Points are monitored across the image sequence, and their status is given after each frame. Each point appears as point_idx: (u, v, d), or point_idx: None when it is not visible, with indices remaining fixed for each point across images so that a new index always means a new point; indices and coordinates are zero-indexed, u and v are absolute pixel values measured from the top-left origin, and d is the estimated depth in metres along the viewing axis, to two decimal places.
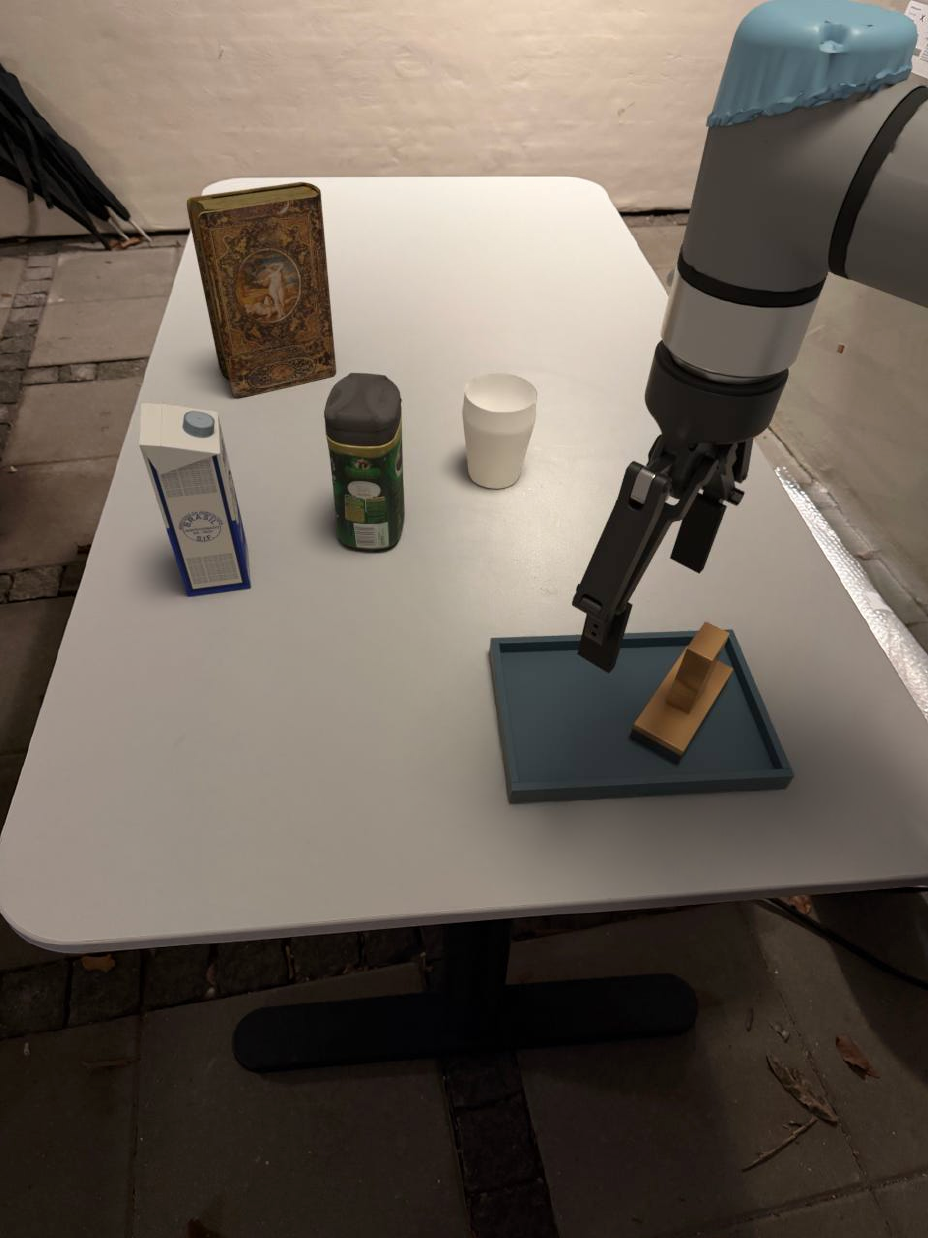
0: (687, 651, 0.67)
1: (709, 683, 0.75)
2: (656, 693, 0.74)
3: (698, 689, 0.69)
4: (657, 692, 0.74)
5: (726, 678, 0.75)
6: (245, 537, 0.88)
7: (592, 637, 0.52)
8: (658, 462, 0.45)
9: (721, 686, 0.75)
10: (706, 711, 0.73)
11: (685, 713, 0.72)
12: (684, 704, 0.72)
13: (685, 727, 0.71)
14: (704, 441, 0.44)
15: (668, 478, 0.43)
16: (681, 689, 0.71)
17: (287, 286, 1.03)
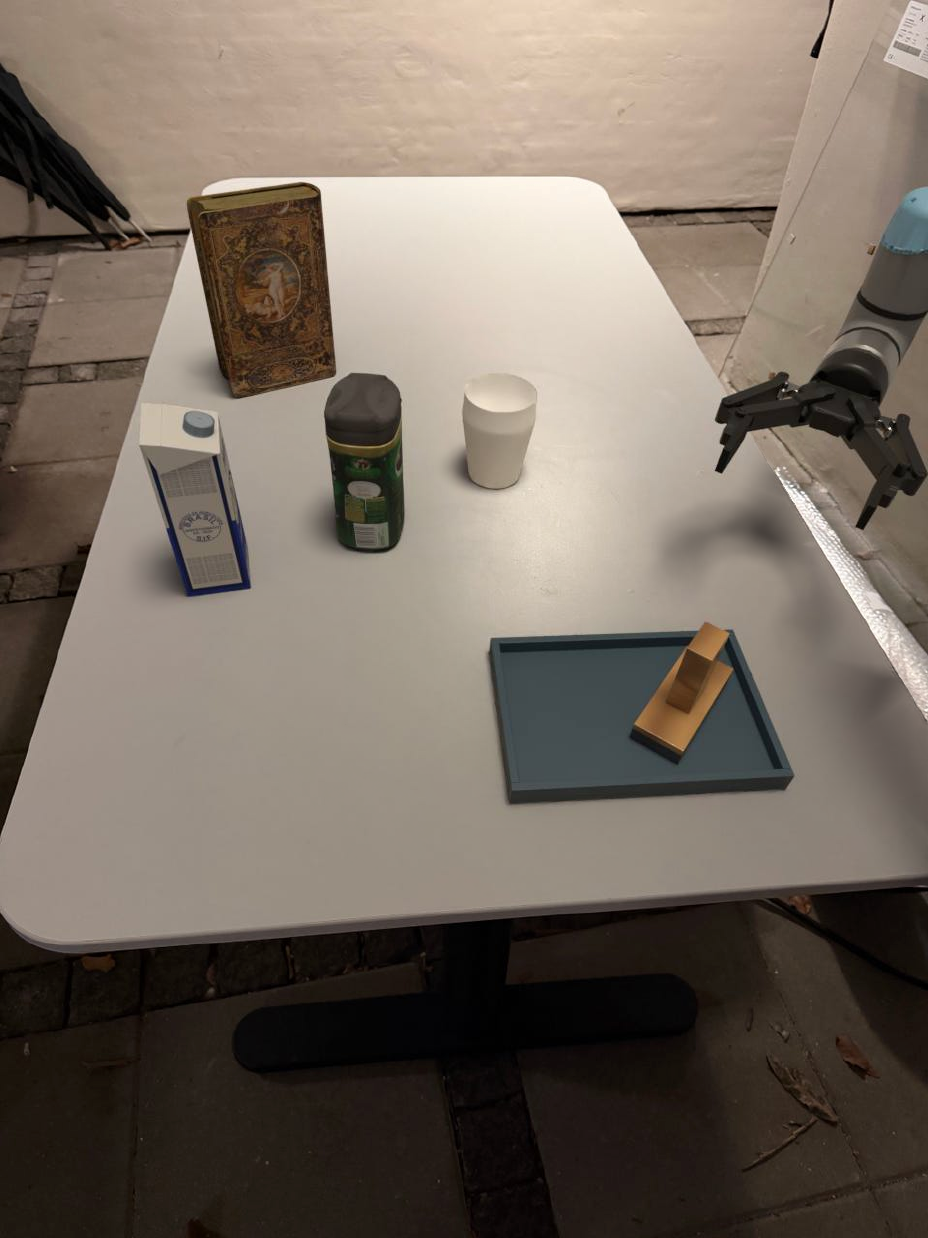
0: (687, 651, 0.67)
1: (709, 683, 0.75)
2: (656, 693, 0.74)
3: (698, 689, 0.69)
4: (657, 692, 0.74)
5: (726, 678, 0.75)
6: (245, 537, 0.88)
7: (721, 435, 0.76)
8: None
9: (721, 686, 0.75)
10: (706, 711, 0.73)
11: (685, 713, 0.72)
12: (684, 704, 0.72)
13: (685, 727, 0.71)
14: (816, 372, 0.81)
15: (786, 373, 0.82)
16: (681, 689, 0.71)
17: (287, 286, 1.03)
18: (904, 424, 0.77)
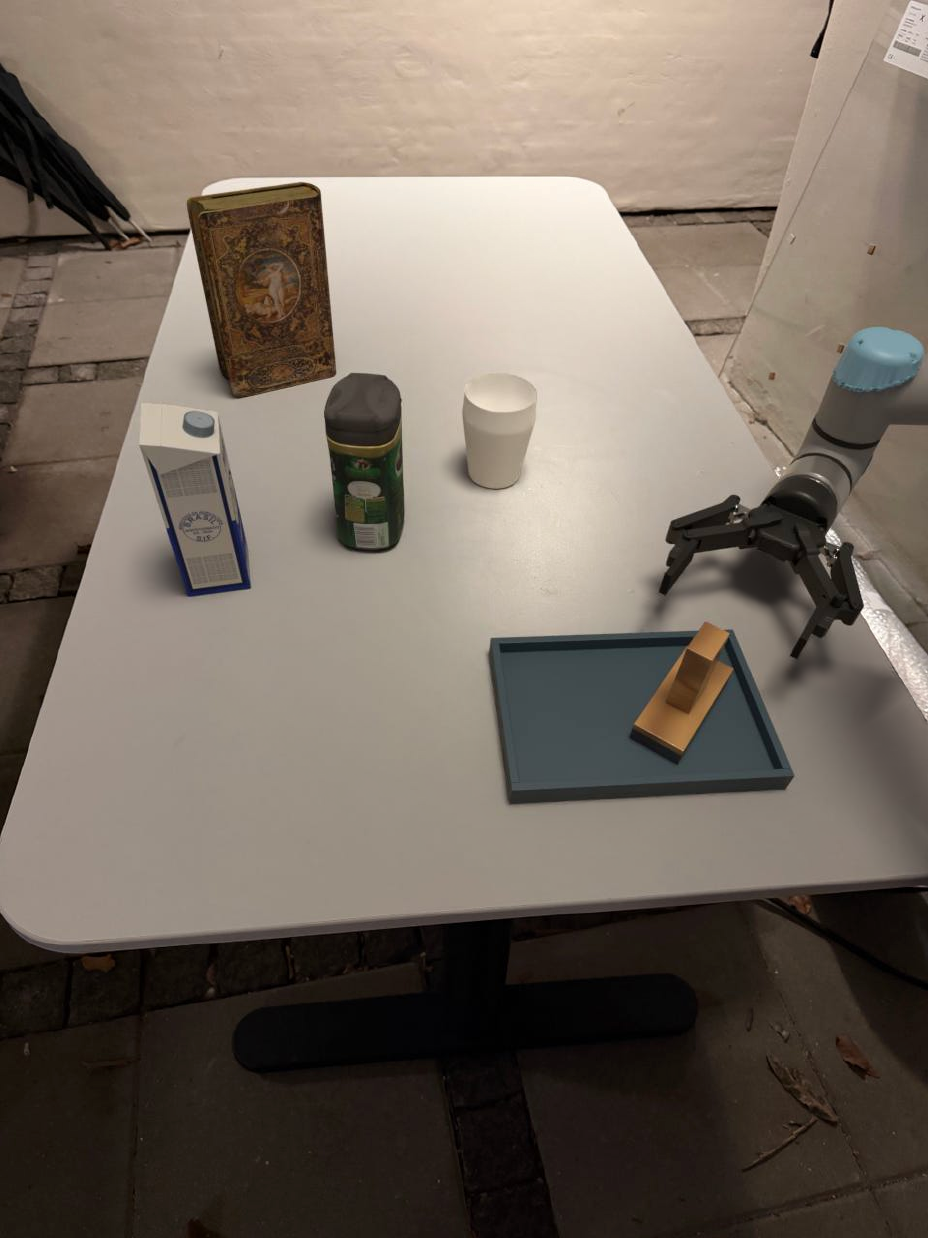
0: (687, 651, 0.67)
1: (709, 683, 0.75)
2: (656, 693, 0.74)
3: (698, 689, 0.69)
4: (657, 692, 0.74)
5: (726, 678, 0.75)
6: (245, 537, 0.88)
7: None
8: None
9: (721, 686, 0.75)
10: (706, 711, 0.73)
11: (685, 713, 0.72)
12: (684, 704, 0.72)
13: (685, 727, 0.71)
14: (767, 497, 0.84)
15: (737, 496, 0.85)
16: (681, 689, 0.71)
17: (287, 286, 1.03)
18: (847, 553, 0.79)
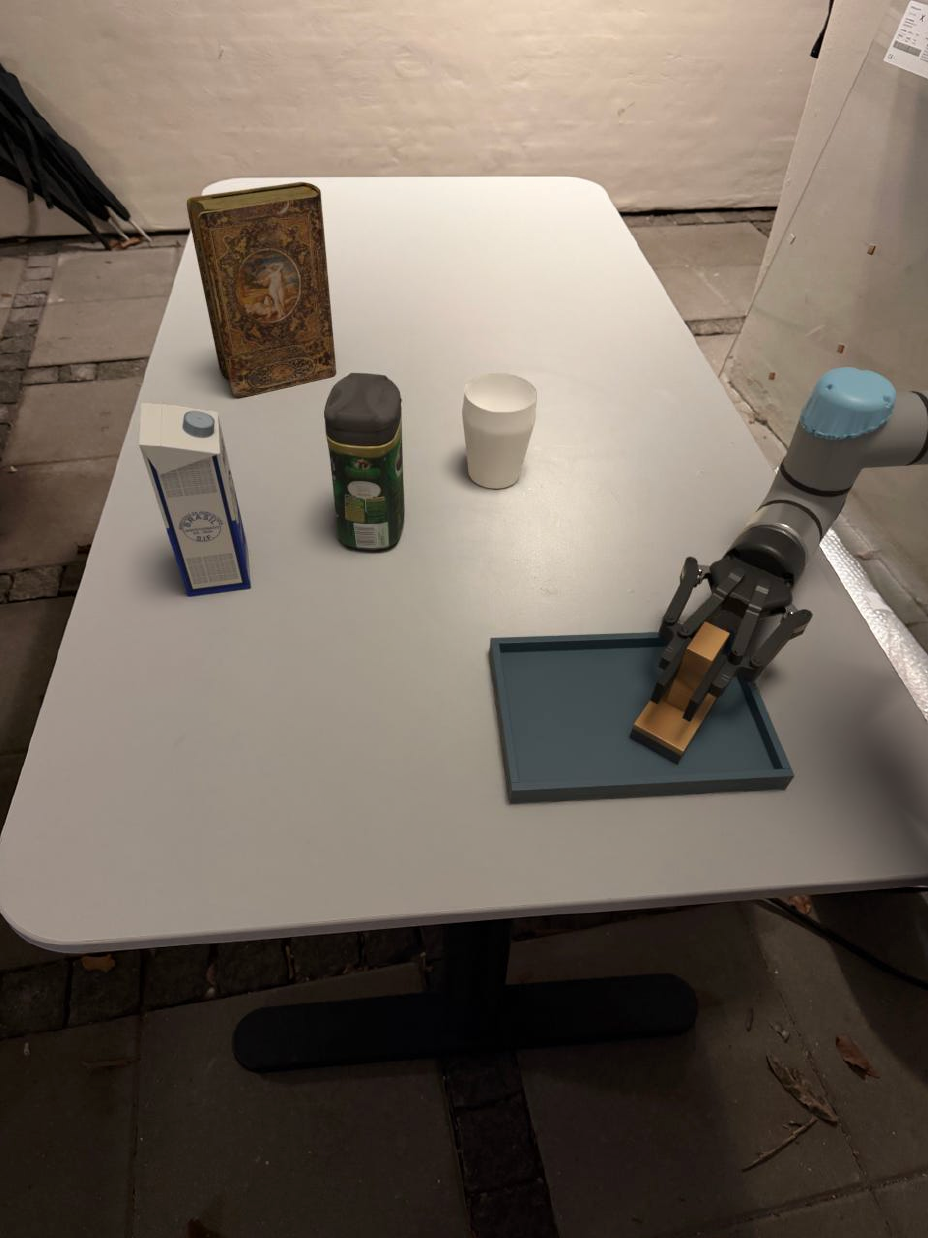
0: (687, 651, 0.67)
1: None
2: None
3: None
4: None
5: None
6: (245, 537, 0.88)
7: (660, 659, 0.70)
8: None
9: None
10: (706, 711, 0.73)
11: None
12: (684, 704, 0.72)
13: (685, 727, 0.71)
14: (730, 549, 0.78)
15: (691, 557, 0.78)
16: (681, 689, 0.71)
17: (287, 286, 1.03)
18: (797, 619, 0.73)
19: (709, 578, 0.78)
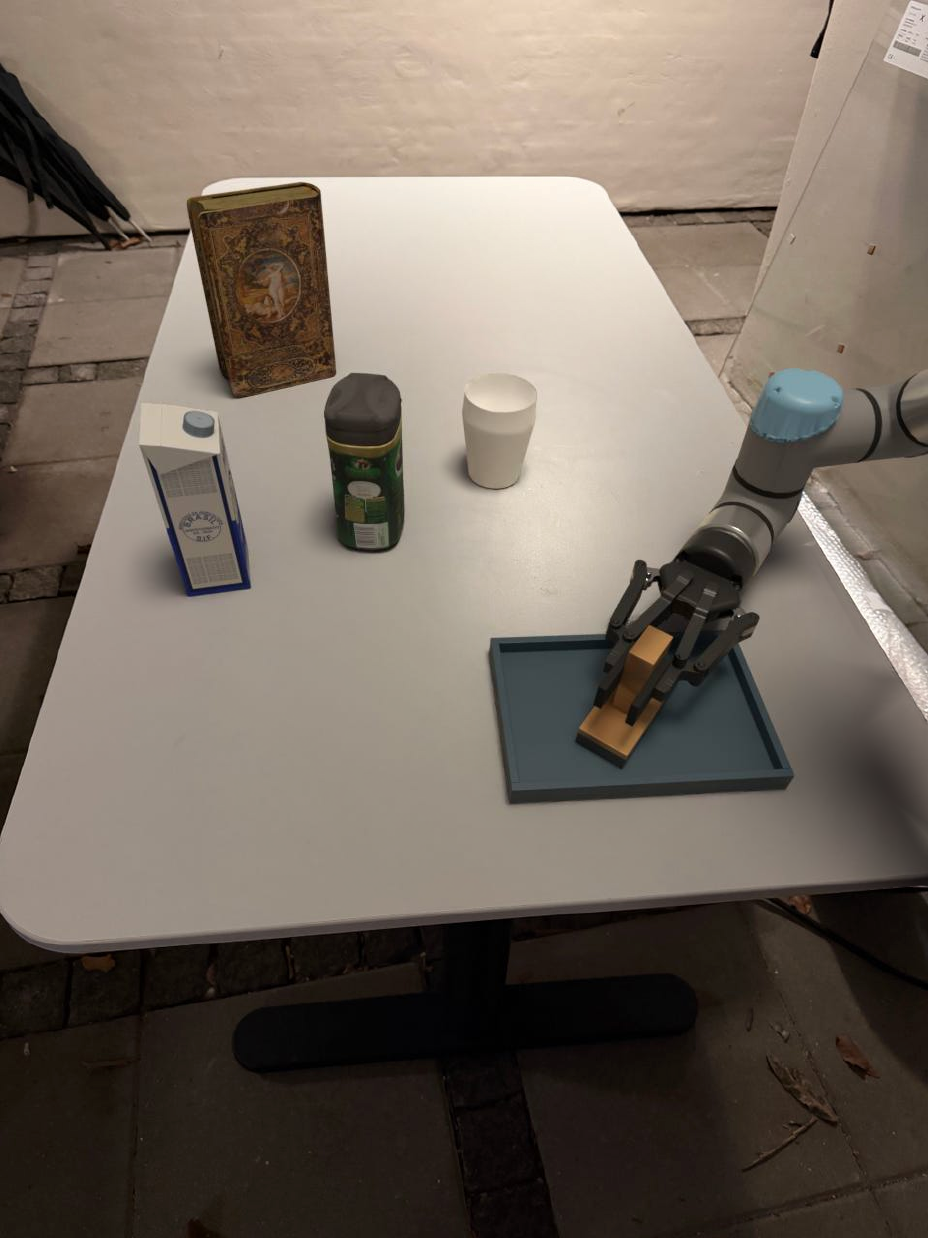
0: (629, 655, 0.67)
1: None
2: None
3: None
4: None
5: None
6: (245, 537, 0.88)
7: (604, 663, 0.70)
8: None
9: None
10: (652, 714, 0.72)
11: None
12: None
13: (630, 731, 0.71)
14: (680, 551, 0.78)
15: (641, 560, 0.78)
16: (626, 693, 0.70)
17: (287, 286, 1.03)
18: (744, 622, 0.72)
19: (659, 581, 0.78)
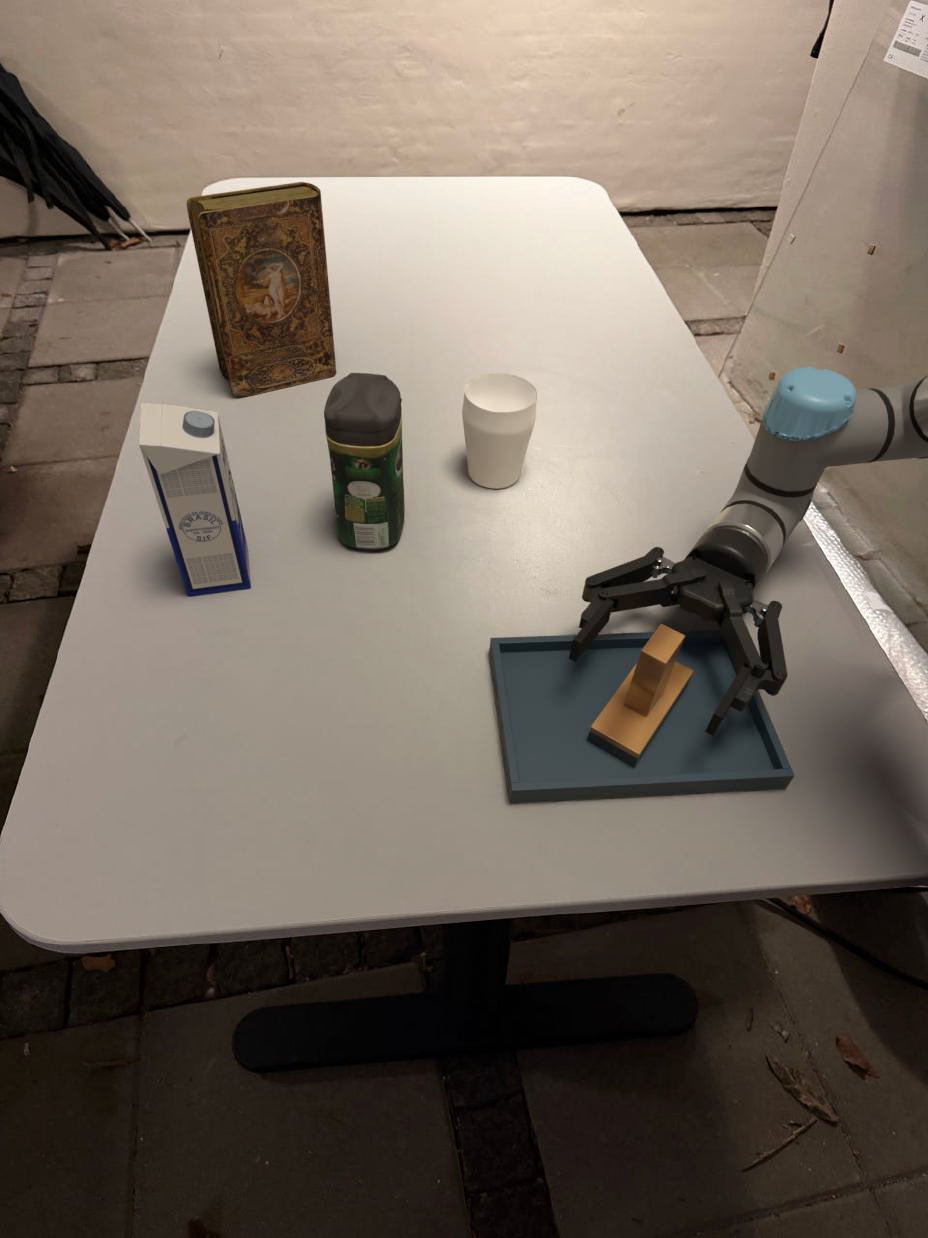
0: (641, 653, 0.67)
1: (668, 685, 0.75)
2: (614, 696, 0.73)
3: (654, 692, 0.69)
4: (615, 694, 0.73)
5: (685, 680, 0.75)
6: (245, 537, 0.88)
7: (580, 619, 0.73)
8: None
9: (680, 688, 0.74)
10: (664, 713, 0.72)
11: (642, 716, 0.72)
12: (641, 707, 0.71)
13: (642, 730, 0.71)
14: (692, 550, 0.78)
15: (661, 548, 0.79)
16: (638, 692, 0.70)
17: (287, 286, 1.03)
18: (774, 614, 0.73)
19: None
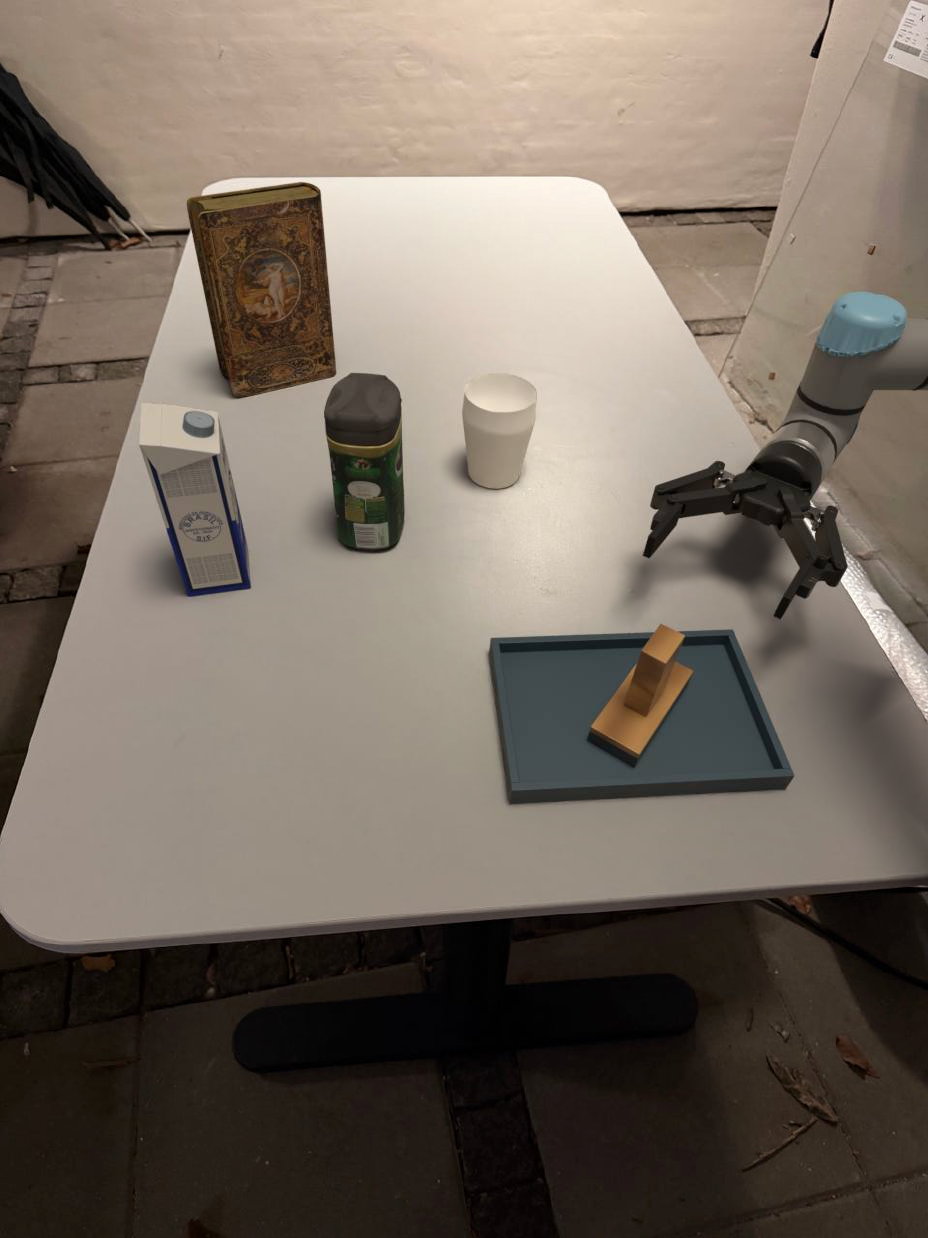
0: (641, 653, 0.67)
1: (668, 685, 0.75)
2: (614, 696, 0.73)
3: (654, 692, 0.69)
4: (615, 694, 0.73)
5: (685, 680, 0.75)
6: (245, 537, 0.88)
7: None
8: None
9: (680, 688, 0.74)
10: (664, 713, 0.72)
11: (642, 716, 0.72)
12: (641, 707, 0.71)
13: (642, 730, 0.71)
14: (751, 463, 0.84)
15: (722, 462, 0.85)
16: (638, 692, 0.70)
17: (287, 286, 1.03)
18: (831, 516, 0.79)
19: None
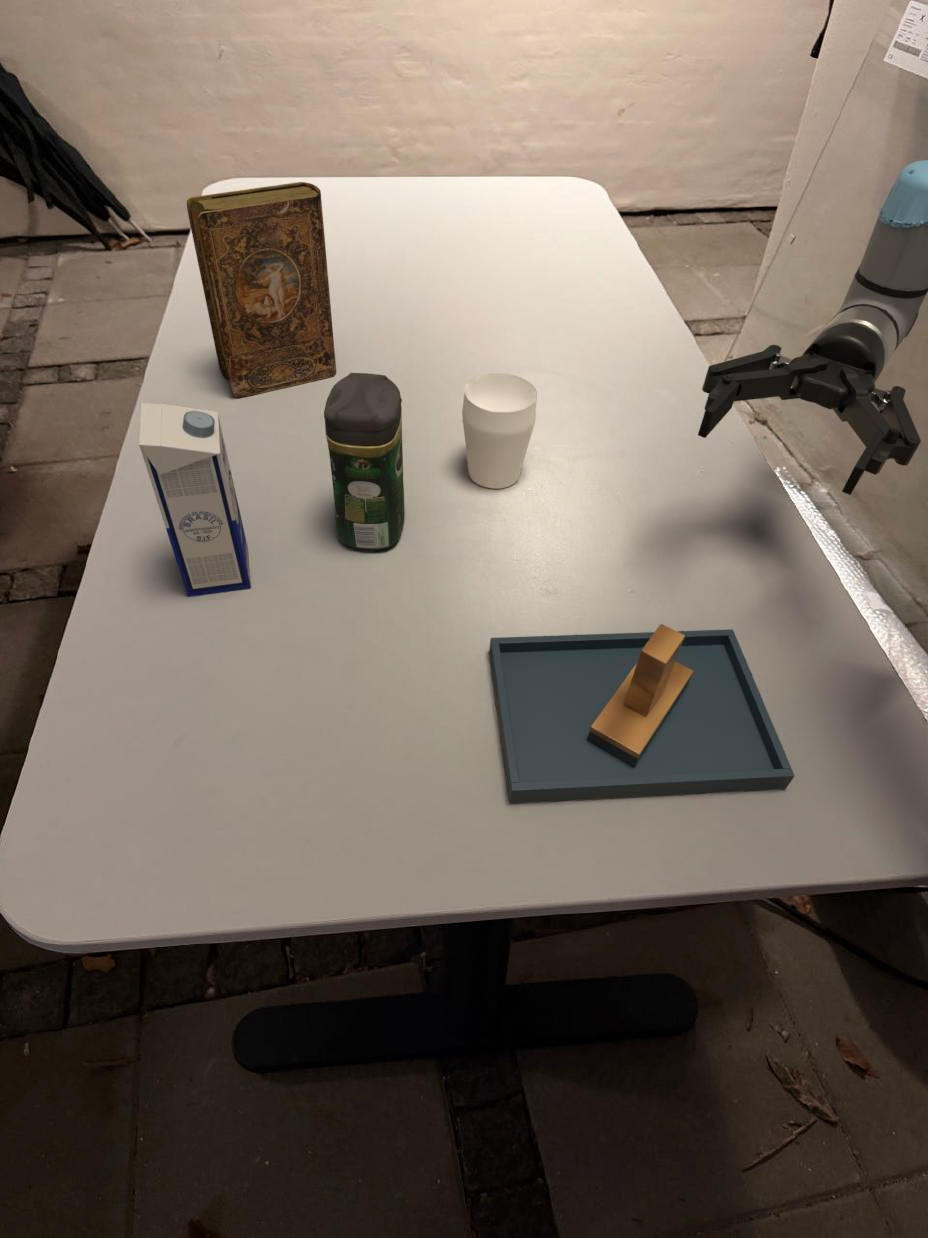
0: (641, 653, 0.67)
1: (668, 685, 0.75)
2: (614, 696, 0.73)
3: (654, 692, 0.69)
4: (615, 694, 0.73)
5: (685, 680, 0.75)
6: (245, 537, 0.88)
7: (706, 401, 0.74)
8: None
9: (680, 688, 0.74)
10: (664, 713, 0.72)
11: (642, 716, 0.72)
12: (641, 707, 0.71)
13: (642, 730, 0.71)
14: (809, 346, 0.79)
15: (778, 346, 0.80)
16: (638, 692, 0.70)
17: (287, 286, 1.03)
18: (899, 395, 0.74)
19: None
